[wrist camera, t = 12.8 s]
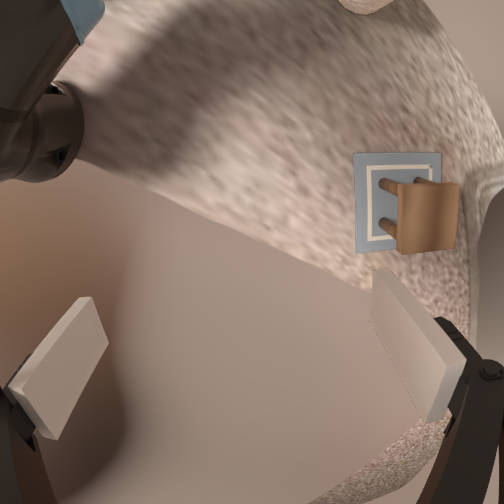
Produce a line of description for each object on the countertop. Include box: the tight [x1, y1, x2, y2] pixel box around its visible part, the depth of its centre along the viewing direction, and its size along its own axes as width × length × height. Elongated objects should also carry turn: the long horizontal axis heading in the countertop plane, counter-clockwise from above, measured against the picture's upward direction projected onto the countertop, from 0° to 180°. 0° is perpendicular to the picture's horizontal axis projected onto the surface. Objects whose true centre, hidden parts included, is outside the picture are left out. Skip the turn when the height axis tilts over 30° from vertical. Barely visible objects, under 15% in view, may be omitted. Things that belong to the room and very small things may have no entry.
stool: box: [378, 177, 460, 255], centre depth 37 cm, size 8×8×9 cm
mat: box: [353, 152, 441, 254], centre depth 41 cm, size 14×14×1 cm
